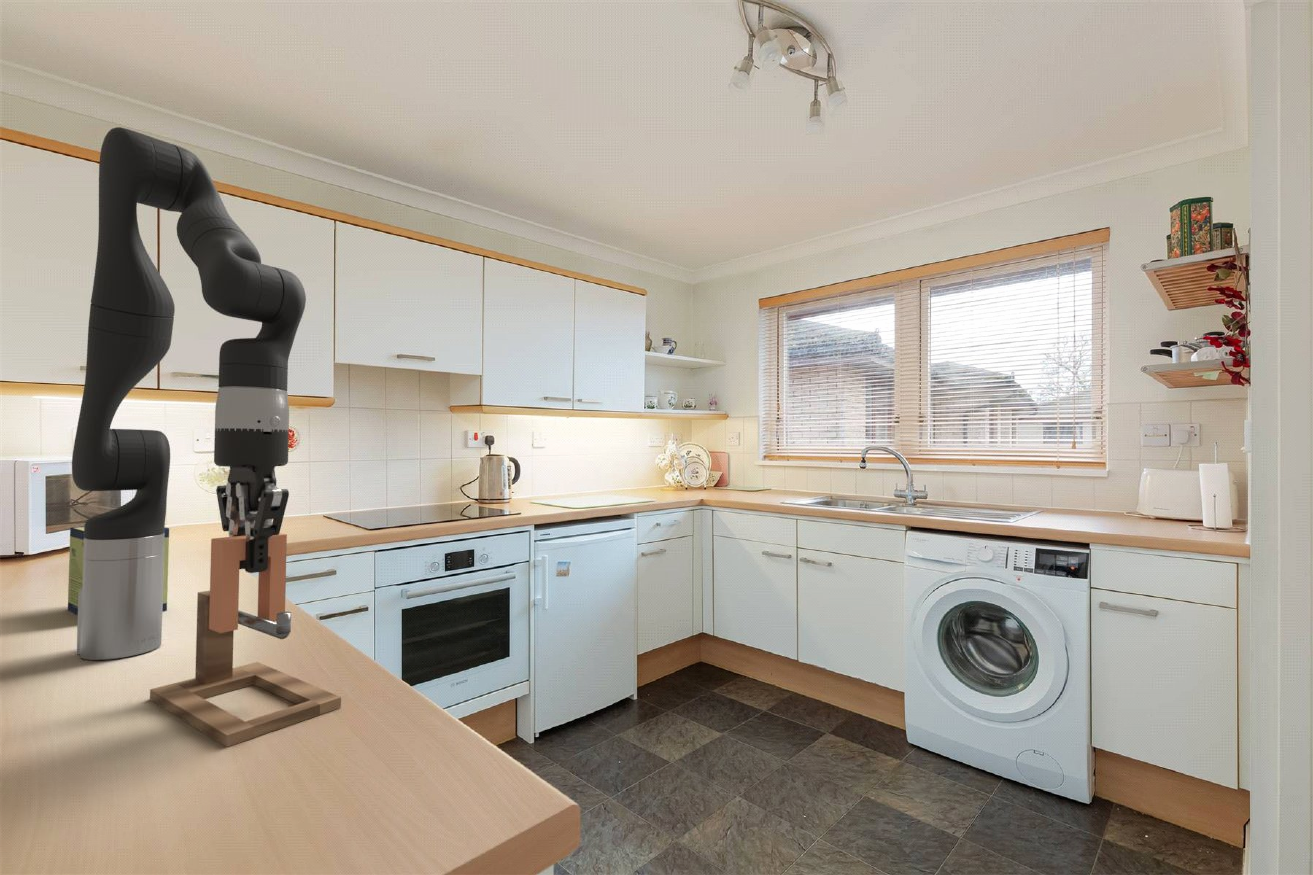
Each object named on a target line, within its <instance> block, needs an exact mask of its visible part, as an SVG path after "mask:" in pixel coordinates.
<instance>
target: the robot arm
mask: <svg viewBox="0 0 1313 875" xmlns="http://www.w3.org/2000/svg"><path fill="white" fill-rule="evenodd" d="M98 166H99V167H98V236H97V237H98V238H97V239H98V240H97V251H96V260H95V268H94V277H93V285H92V291H91V299H90V307H89V319H88V327H87V328H88V329H87V346H86V347H87V348H86V366H85V377H84V385H83V386H84V387H83V393H82V400H81V405H80V410H79V414H78V421H77V427H76V431H75V438H74V443H73V450H72V456H71V475H72V480H73V482H74V485H76V487H77V488H78V489H80V490H82V491H86V492H109V491H110V492H113V491H135V490H136V492H135V495H134V497H133V498H132V499H131V500H130V501H128V502H126V503H125V504H123V505H120V506H119V507H116V508H114V509H111V510H109V511H106V512H103V513H100V514H96V515H93V516H91V517H89V518H87V520H85V523H84V537H85V538H84V555H83V558H84V559H83V588H81V589H80V590H79V592H78V614H77V629H76V630H77V632H76V654H78V655H79V654H80V655H79V656H80V658H81V659H83V660H89V661H92V660H93V661H100V660H101V661H102V660H105V661H106V660H115V659H121V658H127V657H132V656H137V655H141V654H145V653H148V652H151V651H153V650H156V649H157V648H159V647H161V645H162V638H163V636H162V634H163V632H162V631H163V629H162V628H163V612H164V611H163V575H164V536H165V533H164V532H165V527H166V516H167V500H168V485H169V478H170V468H171V447H170V443H169V442H170V441H169V439H168V437H167V435H166V434H165V433H164V432H162V431H160V430H156V429H154V430H153V429H135V428H132V429H131V428H111V426H112V422H113V420H114V417H115V415H116V413H117V410H118V409H119V407H120V405H121V403H122V402H123V401H124V399H125V398H126V397H127V396H128V394H129V393H130V392H131V391H132V390H133V388H135V387H136V386H137V384H138V383H140V382H141V380H143V379H144V378H145V377H146V376H147V375H148V374H149V373H150V372H151V371H153V369H155V367H156V366H157V365H158V364H159V363H160V362H161V361H162V360H163V359H164V358H165V356H166V354H168V351H169V350H170V347H171V342H172V337H173V330H174V329H173V328H174V321H175V320H174V318H175V317H174V316H175V312H176V311H175V310H176V309H175V303H174V298H173V297H172V294H171V292H170V290H169V288H168V286H167V284H166V282H165V280H164V279H163V277H162V275H161V273H160V272H159V271H158V269H157V268H156V265H155V263H154V262H153V261H152V258H151V256H150V255H149V253H148V252H147V249H146V246H145V244H144V242H143V240H142V237H141V234H140V230H139V224H138V213H137V211H138V210H137V207H138V204H140V205H144V206H148V207H151V208H152V207H153V208H155V209H160V210H163V211H168V212H177V213H181V214H180V215H179V218H178V220H177V223H176V236H177V239H178V241H179V245H181V248H183V250H184V252H185V254H186V255H187V256H188V258H189V259H190V260H191V261H192V262H193V264H194V265H195V266H196V269H197V270H198V275H199V278H200V284H201V295H202V298H203V300H204V301H205V303H206V305H207V306H209V307H210V308H211V309H213V310H214V311H215V312H216V313H219V314H221V315H223V316H226V317H230V318H236V319H240V320H247V321H252V322H257V323H258V322H259V323H261V328H260V330H259V332H258V334H257V335H256V336H255V337H246V338H245V337H243V338H241V337H240V338H233V339H227V340H225V341H224V342H223V343H222V344H221V346H220V348H219V354H218V355H219V356H218V361H219V362H218V385H217V386H218V390H217V397H216V402H215V408H214V409H215V412H214V443H213V444H214V450H213V454H214V455H213V462H214V464H215V465H216V466H218V467H223V468H225V467H228V468H229V473H228V476H227V483H226V485H217V486H216V489H215V493H216V497H217V504H218V505H217V506H218V509H219V516H220V522H221V528H222V530H223V532H228V537H234V536H244V535H246V540H247V542H246V553H245V560H241V561H240V563H239V570H244V571H245V572H246V573H249V574H254V573H255V574H256V573H259V572H263V571H266V570H267V568H268V539H271V538H272V536H273V535H279V533H280V532H281V529H282V526H283V520H284V517H285V516H284V515H285V512H286V508H287V505H288V501H289V497H290V493H289V490H288V488H278V487H277V477H276V470H275V468H276V467H284V466H286V465H287V464H288V463H289V444H290V442H289V437H290V436H289V433H290V405H289V399H288V398H289V397H288V377H289V374H288V373H289V372H288V371H289V365H288V364H289V359H290V358H289V357H290V354H291V351H292V349H293V346H294V342H295V341H294V340H295V338H296V335H297V331H298V329H299V326H300V323H301V320H302V318H303V315H304V312H305V308H306V301H307V298H306V297H307V296H306V295H307V294H306V291H305V288H304V286H303V283H302V282H301V280H300V278H299V277H298V276H297V275H296V274H294V273H293V272H291V271H289V270H287V269H284V268H283V269H282V268H281V267H276V266H271V265H268V264H263V263H262V257H261V255H260V252H259V251H258V248H257V247H256V245H255V244H254V242H252V240H251V239H250V238H249V237H248V235H246V233H245V231H243V230H242V229H241V227H239V226H238V224H237V223H236V222H235V221H234V219H233V218H232V217H231V216H230V214H229V213H228V210H227V208H226V206H225V204H224V202H223V200H222V198H221V195H220V193H219V191H218V190H217V187H216V185H215V184H214V182H213V179H212V177H211V176H210V173H209V171H208V170H207V167H205V164H204V163H203V162H202V160H201V159H200V158H199V157H198V156H197V155H196V154H195V153H194V152H192V151H190V150H188V149H186V148H185V147H181V146H179V145H176V144H174V143H170V142H167V141H164V140H161V139H158V138H156V137H153V136H149V135H147V134H144V133H141V132H138V131H135V130H132V129H129V128H125V127H120V126H118V127H113V128H111V129H110V130H109V131H108V132H107V133H106V135H104V138H103V141H102V143H101V149H100V155H99V163H98Z"/></svg>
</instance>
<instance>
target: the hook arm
mask: <svg viewBox="0 0 1313 875" xmlns="http://www.w3.org/2000/svg"><path fill="white" fill-rule="evenodd" d="M238 625H241V626H244V627H247V628H249V629H251V630H254V631H256V632H260V633H263V634H266V635H268V636H271V637H274V638H276V639H280V640H284V639H287V638H288V637H289V635H290V633H291V632H292V630H291V629H292V627H291V626H292V612H291V611H285V612H280V613H277V621H276V622H272V621H269V620H266V619H263V618H260V617H258V615H257V616H256V615H253V614H251V613H248V612H244V611H241V610H240V609H238Z"/></svg>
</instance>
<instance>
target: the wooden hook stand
mask: <svg viewBox="0 0 1313 875" xmlns="http://www.w3.org/2000/svg"><path fill="white" fill-rule="evenodd" d="M196 603H197V604H196V637H195V638H196V639H195V640H196V641H195V642H196V643H195V644H196V645H195V677H194V678H190V679H185V680H182V681H177V682H174V683H171V684H170V683H169V684H166V685H161V686H157V687H155V688H151V689H149V700H150V701H152V702H153V703H155V704H157V705H159V706H160V707H162V708H163V709H165V710H166V711H168V712H169V713H171V714H173V715H174V716H176V717H178V718H179V719H181V720H183V721H184V722H186V723H187V724H189V725H190V726H192V727H194V728H195V729H197V730H199V731H200V732H202V733H203V734H205V735H207V736H208V737H210V738H212V739H213V740H214V741H216V742H217V743H220V744H221V745H223V746H224V747H226V748H228V747H230V746H234V745H237V744H239V743H242V742H245V741H248V740H251V739H254V738H257V737H260V736H264V735H265V734H269V733H271V732H274V731H277V730H280V729H282V728H286V727H288V726H291V725H292V726H293V725H294V724H297V723H301V722H303V721H306V720H309V719H312V718H314V717H317V716H320V715H323V714H326V713H329V712H332V711H335V710H337V709H340V708H342V697H341V696H340V695H337V694H335V693H332V692H330V691H328V690H325V689H324V688H320V687H318V686H315V685H313V684H311V683H309V682H306V681H304V680H301V679H299V678H297V677H294V676H291V675H290V674H287V673H284V672H282V671H281V670H278V669H275V668H273V667H271V666H269V665H266V664H263V663H262V662H259V661H257V662H256V661H255V662H252V663H248V664H245V665H241V666H236V667H234V666H233V665H234V664H233V663H234V633H235V630H233V631H228V632H223V633H219V632H216V631H213V630H211V629H209V609H210V590H205V591H198V592H197V602H196ZM253 685H255V686H257V687H259V688H262V689H264V690H266V691H269V692H270V693H272V694H275V695H276V696H278V697H281V698H283V699H286V700H288V701H289V702H291V703H293V704H295V705H292V706H289V707H285V708H283V709H279V710H276V711H273V712H270V713H267V714H264V715H261V716H258V717H254V718H252V719H249V720H243V719H241V718H239V717H237V716H236V715H234V714H232V713H230V712H228V711H226V710H224V709H223V708H221V707H219V706H217V705H216V704H214V703H212V702H210V701H209V700H207V698H211V697H214V696H218V695H222V694H225V693H228V692H232V691H235V690H238V689H243V688H246V687H250V686H253Z"/></svg>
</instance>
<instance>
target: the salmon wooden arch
mask: <svg viewBox="0 0 1313 875" xmlns="http://www.w3.org/2000/svg"><path fill="white" fill-rule="evenodd" d="M287 536H288V534H285V533H282V532H281V533H279V535H273V536H272V538H271V539H268V568H267V570H266V571H263V572H258V581H257V582H258V585H257V586H258V587H257V588H258V589H257V590H258V591H257V617H260V618H263V619H266V620H269V621H272V622H274V623H276V621H277V613H280V612H286V587H287V586H286V584H287V541H288V538H287ZM246 542H247V540H246V535H244V536H234V537H229V536H228V537H227V536H226V537H217V538H211V540H210V569H209V570H210V572H209V573H210V575H209V576H210V577H209V580H210V582H209V591H210V609H209V629H211V630H213V631H216V632H219V633H223V632H228V631H233V630H234V631H237V630H238V629H239V624H238V610H239V605H240V604H239V599H240V597H239V596H240V594H239V593H240V569H239V563H240V561H241V560H245V553H246Z"/></svg>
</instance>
